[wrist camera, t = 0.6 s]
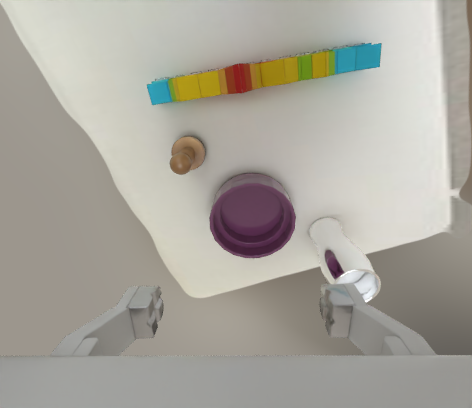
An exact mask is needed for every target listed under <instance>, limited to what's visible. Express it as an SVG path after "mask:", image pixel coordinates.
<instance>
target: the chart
mask: <svg viewBox="0 0 472 408" xmlns="http://www.w3.org/2000/svg"><path fill="white" fill-rule="evenodd" d="M380 56H381V43H379V44H374V45H371V43H368V44H365V43H362V44H356V45H354V46H351V47H348V45H346V46H341V47H335V48H333V50H329V49H324V50H319V51H314V53H312V54H309V52H307V53H301V54H296V56H295V57H291V55H290V56H286V57H280V58H279V59H278V60H272V61H271V59H269V60H268V59H267V60H263V61H261V63H255V64H254V62H252V63H250V64H249V63H246V64H239V66H238V64H236V65H232V66H228V67H226V68H223V69H220V70H219V69H218V68H217V69H214V70H213V69H211V70H210V72H209V70H208V72H204V73H203V72H201V71H200V72H196V73H195V72H194V73H191V75H188V76H185V75H180V76H178V75H177V76H175V78H171V79H170V78H169V77H166V78H165V79H164V78H160V79H155V81H154V82H152V84H147V88H148V91H149V95H150V99H151V102H152V105H156V104H161V103H167V102H178V101H186V100H192V99H198V98H204V97H210V96H217V95H222V94H236V93H242V91H243V93H244V92H247V91H251V90H252V89H253V90H254V89H257V88H261V87H267V86H275V85H282V84H288V83H292V82H297V81H301V80H307V79H314V78H321V77H327V76H330V75H334V74H339V73H344V72H350V71H356V70H362V69H369V68H375V67H380ZM239 69H240V70H239ZM240 76H241V77H240ZM241 84H242V85H241ZM246 89H247V90H246Z"/></svg>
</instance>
